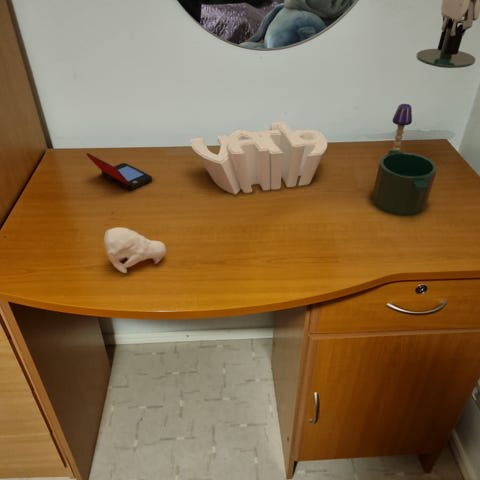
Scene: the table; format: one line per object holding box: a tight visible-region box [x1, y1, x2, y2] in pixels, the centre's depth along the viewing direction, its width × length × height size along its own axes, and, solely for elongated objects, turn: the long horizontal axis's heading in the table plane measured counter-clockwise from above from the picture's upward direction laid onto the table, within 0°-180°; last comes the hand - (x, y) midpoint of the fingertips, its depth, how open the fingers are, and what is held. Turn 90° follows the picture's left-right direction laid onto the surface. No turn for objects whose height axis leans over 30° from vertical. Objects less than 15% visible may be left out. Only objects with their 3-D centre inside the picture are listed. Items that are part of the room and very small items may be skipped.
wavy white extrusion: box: [190, 121, 328, 195], centre depth 122 cm, size 35×16×11 cm, turn 102°
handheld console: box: [86, 152, 153, 191], centre depth 122 cm, size 12×11×7 cm
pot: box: [371, 149, 438, 216], centre depth 114 cm, size 13×18×10 cm
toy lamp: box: [392, 103, 413, 152], centre depth 123 cm, size 5×5×17 cm
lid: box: [415, 27, 476, 69], centre depth 114 cm, size 14×14×7 cm
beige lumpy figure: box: [103, 227, 167, 274], centre depth 96 cm, size 6×8×12 cm
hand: (447, 51), depth 115 cm, fingers closed on lid, 2 cm apart
